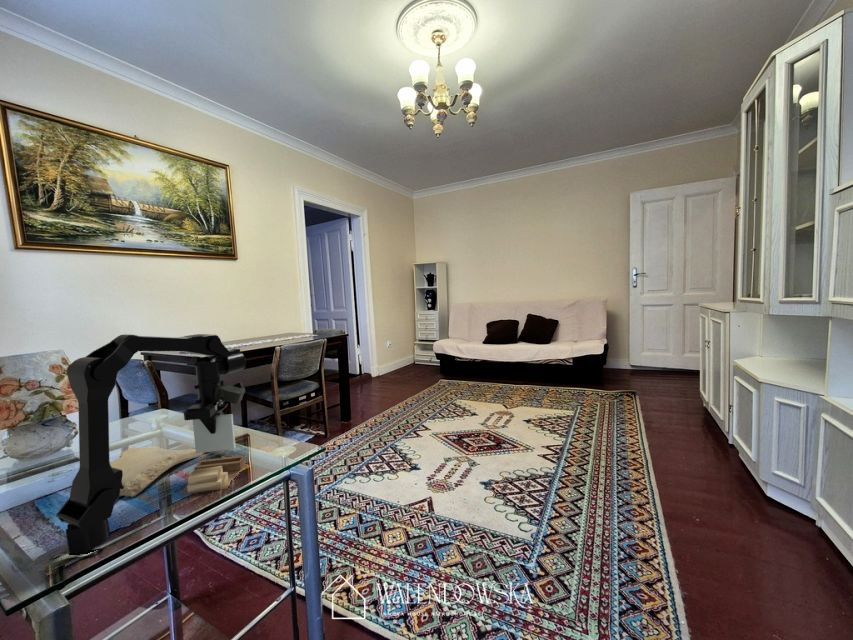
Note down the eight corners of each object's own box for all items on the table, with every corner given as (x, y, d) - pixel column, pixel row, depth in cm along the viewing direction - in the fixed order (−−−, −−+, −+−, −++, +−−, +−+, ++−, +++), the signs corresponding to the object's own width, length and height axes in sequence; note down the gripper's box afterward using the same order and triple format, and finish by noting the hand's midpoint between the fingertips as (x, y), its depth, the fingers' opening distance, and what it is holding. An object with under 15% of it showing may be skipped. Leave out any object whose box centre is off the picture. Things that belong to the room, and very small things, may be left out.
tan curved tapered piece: (70, 503, 92) (136, 500, 89) (65, 476, 92) (131, 471, 89) (153, 460, 116) (208, 456, 113) (150, 438, 116) (204, 433, 113)
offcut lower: (221, 488, 93) (220, 481, 92) (187, 492, 91) (187, 485, 91) (228, 478, 97) (227, 471, 97) (196, 482, 96) (195, 475, 96)
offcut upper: (217, 481, 93) (216, 473, 92) (188, 485, 91) (187, 478, 91) (222, 472, 97) (222, 465, 97) (194, 476, 95) (194, 469, 95)
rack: (230, 491, 93) (228, 479, 92) (179, 498, 91) (177, 485, 90) (247, 465, 106) (246, 453, 106) (203, 470, 104) (202, 458, 104)
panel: (234, 449, 101) (231, 415, 100) (195, 453, 99) (192, 418, 98) (235, 447, 102) (232, 413, 101) (197, 451, 100) (194, 417, 99)
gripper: (227, 385, 91) (232, 443, 92) (250, 369, 109) (254, 417, 111) (179, 389, 89) (186, 448, 90) (211, 371, 107) (216, 421, 109)
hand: (214, 432), depth 100 cm, fingers closed on panel, 1 cm apart
